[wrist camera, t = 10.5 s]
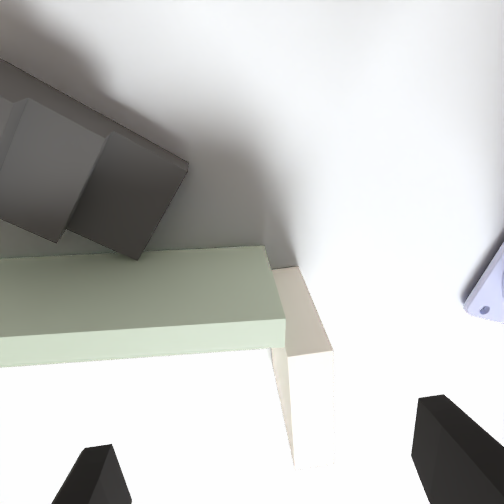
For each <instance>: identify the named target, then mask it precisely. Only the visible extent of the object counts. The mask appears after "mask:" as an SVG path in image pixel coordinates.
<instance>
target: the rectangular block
mask: <svg viewBox="0 0 504 504" xmlns="http://www.w3.org/2000/svg"><path fill="white" fill-rule="evenodd" d="M272 273H273V277H274V280H275V283H276V287H277V290H278V294H279V297H280V300H281V304H282V307H283V310H284V314H285V317H286V329H285V347H281V348H271V350H272V361H273V370H274V374H275V379H276V384H277V388H278V393H279V398H280V402H281V407H282V412H283V416H284V421H285V426H286V430H287V435H288V440H289V444H290V449H291V454H292V458H293V463H294V468H295V470H298V469H304V468H311V467H317V466H323V465H330V464H333V348H332V346H331V344H330V341H329V339H328V336H327V334H326V332H325V329H324V327H323V324H322V322H321V320H320V317H319V315H318V312H317V310H316V308H315V305H314V303H313V300H312V298H311V296H310V293H309V291H308V288H307V286H306V283H305V281H304V279H303V276H302V274H301V271H300V269H299V267H298V266H296V267H289V268H281V269H274V270H272Z"/></svg>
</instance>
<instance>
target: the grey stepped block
mask: <svg viewBox="0 0 504 504" xmlns="http://www.w3.org/2000/svg"><path fill="white" fill-rule="evenodd" d="M187 172H188V162H186V161H185V160H183V159H181V158H179V157H177V156H175V155H174V154H172V153H170V152H168V151H166V150H165V149H163V148H161V147H159V146H157V145H156V144H154V143H152V142H150V141H148V140H147V139H145V138H143V137H141V136H139V135H138V134H136V133H134V132H132V131H130V130H129V129H127V128H125V127H123V126H121V125H119V124H118V123H116V122H114V121H112V120H110V119H109V118H107V117H105V116H103V115H101V114H100V113H98V112H96V111H94V110H92V109H91V108H89V107H87V106H85V105H83V104H82V103H80V102H78V101H76V100H74V99H73V98H71V97H69V96H67V95H65V94H63V93H62V92H60V91H58V90H56V89H54V88H53V87H51V86H49V85H47V84H45V83H44V82H42V81H40V80H38V79H36V78H35V77H33V76H31V75H29V74H27V73H26V72H24V71H22V70H20V69H18V68H17V67H15V66H13V65H11V64H9V63H7V62H6V61H4V60H2V59H0V219H2V220H4V221H7V222H9V223H11V224H13V225H16V226H18V227H20V228H23V229H25V230H27V231H29V232H32V233H34V234H36V235H39V236H41V237H43V238H45V239H48V240H50V241H52V242H55V243H57V242H58V240H59V239H60V237H61V236H62V234H63V233H64V232H65V230H66V229H68V230H70V231H72V232H75V233H77V234H79V235H81V236H83V237H86V238H88V239H90V240H92V241H94V242H97V243H99V244H101V245H103V246H105V247H108V248H110V249H112V250H114V251H117V252H119V253H121V254H123V255H125V256H128V257H130V258H132V259H134V260H136V261H138V259H139V257H140V256H141V254H142V252H143V250H144V249H145V247H146V245H147V243H148V241H149V240H150V238H151V236H152V234H153V232H154V231H155V229H156V227H157V225H158V223H159V222H160V220H161V218H162V216H163V215H164V213H165V211H166V209H167V207H168V206H169V204H170V202H171V200H172V198H173V197H174V195H175V193H176V191H177V189H178V188H179V186H180V184H181V182H182V181H183V179H184V177H185V175H186V173H187Z"/></svg>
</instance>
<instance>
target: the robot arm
mask: <svg viewBox="0 0 504 504" xmlns="http://www.w3.org/2000/svg"><path fill="white" fill-rule="evenodd" d="M463 306H464V310H465V311H466V312H467V313H468V314H469V315H471V316H475V317H479V318H483V319H487V320H491V321H495V322H499V323H503V324H504V242H503V244H502V245H501V247H500V248H499V250H498V251H497V253H496V255H495V256H494V258H493V259H492V261H491V262H490V264H489V265H488V267H487V269H486V270H485V272H484V273H483V275H482V276H481V278H480V279H479V281H478V282H477V284H476V286H475V287H474V289H473V290H472V292H471V293H470V295H469V296H468V298H467V300H466V301H465V303H464V305H463ZM484 306H485V307H484ZM482 307H484V308H483V309H481V308H482ZM480 309H481V310H480ZM411 456H412V459H413V462H414V464H415V467H416V469H417V472H418V475H419V477H420V480H421V483H422V485H423V487H424V490H425V492H426V495H427V497H428V500H429V502H430V504H504V447H503V446H502V445H501V444H500V443H499V442H497V441H496V440H495V439H494V438H493V437H492V436H490V435H489V434H488V433H487V432H486V431H485V430H484V429H482V428H481V427H480V426H479V425H478V424H477V423H476V422H475V421H473V420H472V419H471V418H470V417H469V416H468V415H467V414H465V413H464V412H463V411H462V410H461V409H460V408H459V407H458V406H456V405H455V404H454V403H453V402H452V401H451V400H450V399H448V398H447V397H446V396H445V395H444V394H443V395H437V396H430V397H423V398H419V399H418V407H417V414H416V422H415V430H414V438H413V446H412V454H411ZM131 502H132V499H131V496H130V493H129V491H128V488H127V485H126V482H125V479H124V477H123V474H122V471H121V468H120V465H119V463H118V460H117V457H116V454H115V452H114V449H113V446H112V444H109V445H102V446H96V447H89V448H85V449H84V450H83V451H82V452H81V454H80V455H79V457H78V459H77V461H76V462H75V464H74V466H73V468H72V469H71V471H70V473H69V475H68V476H67V478H66V480H65V482H64V483H63V485H62V487H61V488H60V490H59V492H58V493H57V495H56V497H55V499H54V500H53V502H52V504H131Z"/></svg>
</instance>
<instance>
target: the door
mask: <svg viewBox="0 0 504 504" xmlns="http://www.w3.org/2000/svg"><path fill="white" fill-rule="evenodd" d="M285 329H286V317H285V314H284V310H283V307H282V304H281V300H280V297H279V294H278V290H277V287H276V283H275V280H274V277H273V273H272V270H271V267H270V263H269V260H268V256H267V253H266V250H265V246H243V247H223V248H202V249H182V250H162V251H143V252H142V254H141V256H140V257H139V259H138V261H136V260H134V259H132V258H130V257H128V256H125V255H123V254H121V253H100V254H80V255H60V256H39V257H19V258H0V368H2V367H16V366H30V365H44V364H58V363H72V362H86V361H100V360H114V359H128V358H142V357H156V356H170V355H184V354H198V353H212V352H226V351H240V350H254V349H268V348H281V347H285Z"/></svg>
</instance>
